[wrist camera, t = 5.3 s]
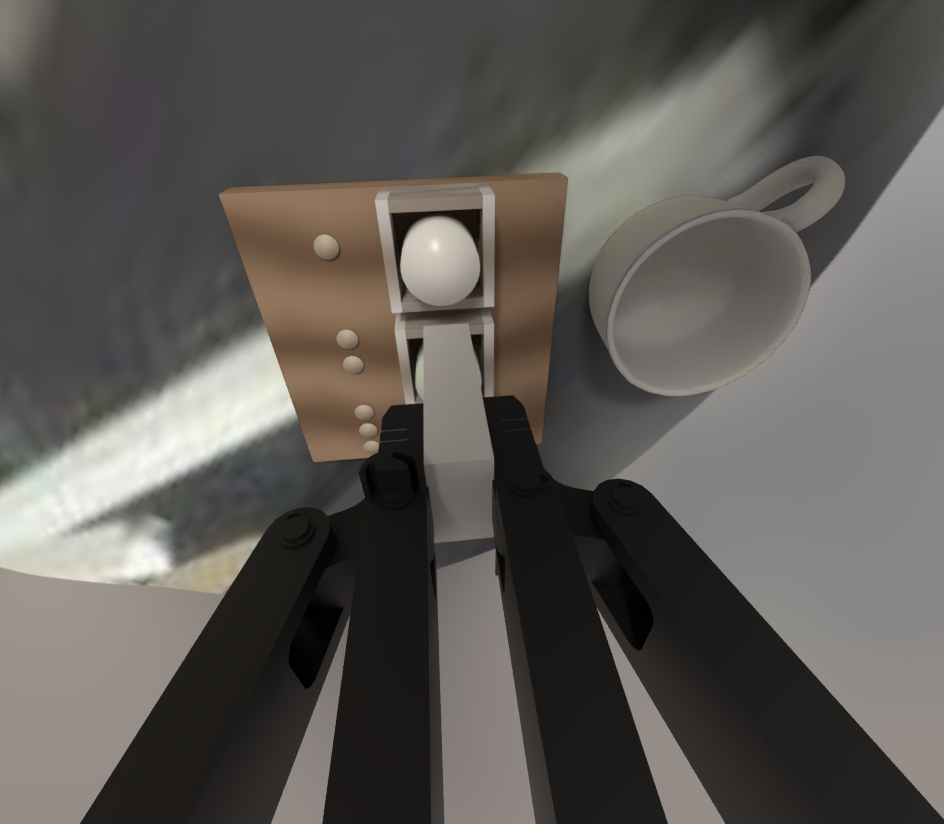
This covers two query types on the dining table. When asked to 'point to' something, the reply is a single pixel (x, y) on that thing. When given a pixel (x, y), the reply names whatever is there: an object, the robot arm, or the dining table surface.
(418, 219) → the button one
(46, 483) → the dining table surface
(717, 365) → the teacup
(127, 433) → the dining table surface
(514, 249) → the button board
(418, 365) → the button two
